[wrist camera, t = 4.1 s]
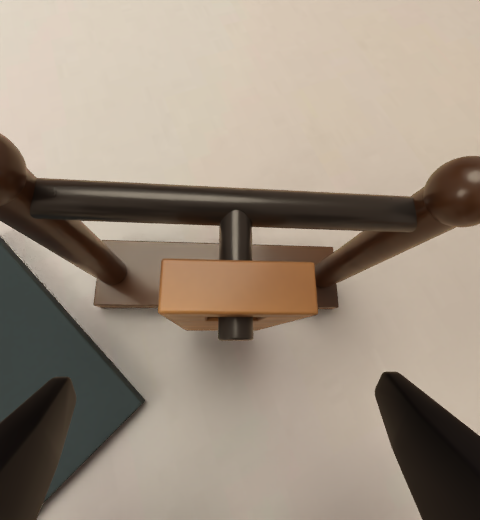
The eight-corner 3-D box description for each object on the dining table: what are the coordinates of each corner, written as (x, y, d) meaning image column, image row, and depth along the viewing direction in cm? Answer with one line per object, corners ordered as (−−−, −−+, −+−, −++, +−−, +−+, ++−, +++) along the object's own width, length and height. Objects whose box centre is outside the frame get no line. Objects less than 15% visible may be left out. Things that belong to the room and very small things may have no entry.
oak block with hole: (258, 330, 16) (319, 315, 7) (184, 330, 16) (156, 314, 7) (257, 305, 17) (315, 261, 8) (186, 304, 16) (161, 257, 7)
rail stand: (335, 341, 19) (580, 337, 7) (94, 342, 18) (-187, 340, 5) (327, 252, 21) (511, 112, 8) (106, 245, 19) (-83, 62, 7)
